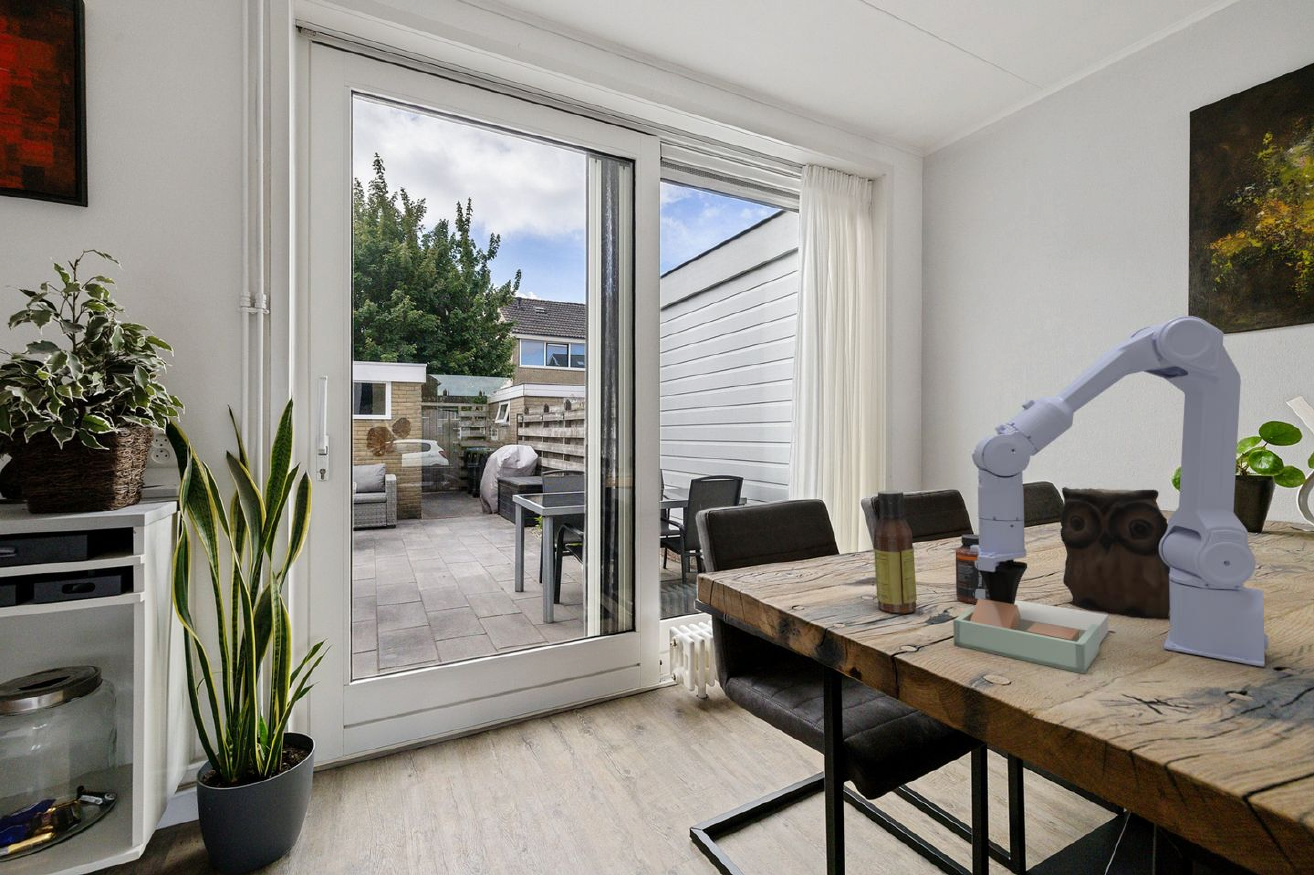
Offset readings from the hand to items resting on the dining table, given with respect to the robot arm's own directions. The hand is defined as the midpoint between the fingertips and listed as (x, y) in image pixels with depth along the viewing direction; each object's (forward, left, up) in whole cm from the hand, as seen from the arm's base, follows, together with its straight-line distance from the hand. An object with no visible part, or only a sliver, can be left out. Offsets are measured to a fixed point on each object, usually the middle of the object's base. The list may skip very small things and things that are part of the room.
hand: (1002, 612), depth 86 cm
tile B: (0, +3, -2) cm, 3 cm away
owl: (-10, -28, -4) cm, 30 cm away
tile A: (-7, +3, -3) cm, 8 cm away
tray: (-4, +3, -3) cm, 6 cm away
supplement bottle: (+9, -17, -4) cm, 20 cm away
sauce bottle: (+17, -3, -4) cm, 18 cm away
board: (-4, -7, -3) cm, 9 cm away
